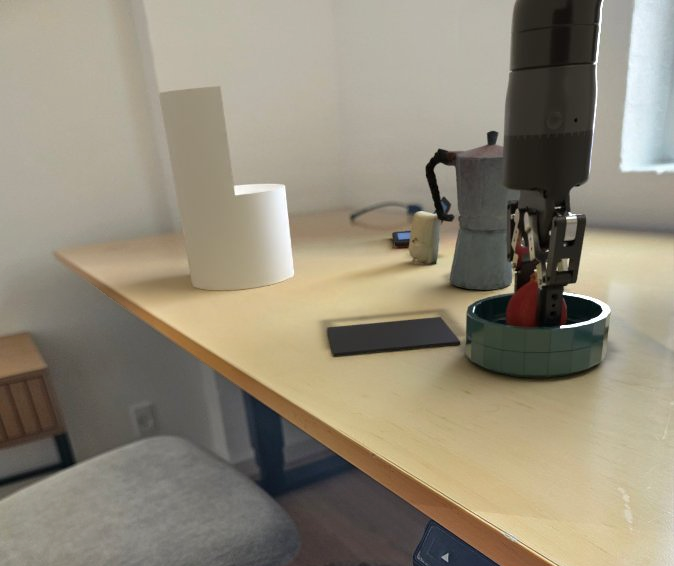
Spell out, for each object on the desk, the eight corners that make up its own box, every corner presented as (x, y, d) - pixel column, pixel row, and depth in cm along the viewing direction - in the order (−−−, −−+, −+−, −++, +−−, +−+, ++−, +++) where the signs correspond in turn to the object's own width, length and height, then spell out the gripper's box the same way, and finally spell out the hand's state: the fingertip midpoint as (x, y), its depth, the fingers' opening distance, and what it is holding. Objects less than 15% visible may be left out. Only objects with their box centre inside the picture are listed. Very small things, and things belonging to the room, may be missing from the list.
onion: (517, 339, 70) (521, 263, 66) (571, 346, 67) (579, 266, 63) (495, 356, 66) (498, 276, 62) (552, 364, 63) (558, 280, 59)
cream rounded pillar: (447, 259, 112) (447, 210, 108) (436, 266, 108) (436, 215, 104) (415, 258, 114) (414, 210, 111) (404, 265, 110) (403, 215, 107)
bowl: (571, 332, 73) (576, 286, 70) (629, 373, 61) (636, 321, 59) (452, 343, 72) (453, 298, 70) (486, 387, 60) (488, 335, 58)
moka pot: (530, 292, 89) (540, 128, 80) (418, 291, 94) (415, 137, 84) (535, 276, 97) (544, 125, 88) (431, 276, 102) (430, 133, 92)
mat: (440, 319, 81) (440, 316, 80) (460, 344, 72) (460, 341, 71) (327, 330, 80) (327, 327, 80) (333, 356, 71) (333, 353, 71)
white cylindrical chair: (192, 295, 102) (156, 90, 89) (191, 273, 117) (160, 96, 104) (301, 282, 104) (282, 81, 92) (286, 262, 120) (268, 87, 107)
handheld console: (391, 237, 135) (390, 199, 131) (444, 234, 134) (444, 195, 131) (394, 249, 124) (392, 207, 120) (451, 245, 123) (452, 203, 120)
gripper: (629, 125, 51) (604, 335, 58) (559, 124, 64) (546, 296, 71) (534, 133, 50) (522, 343, 58) (483, 130, 63) (478, 302, 71)
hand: (535, 316), depth 65 cm, fingers closed on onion, 6 cm apart
